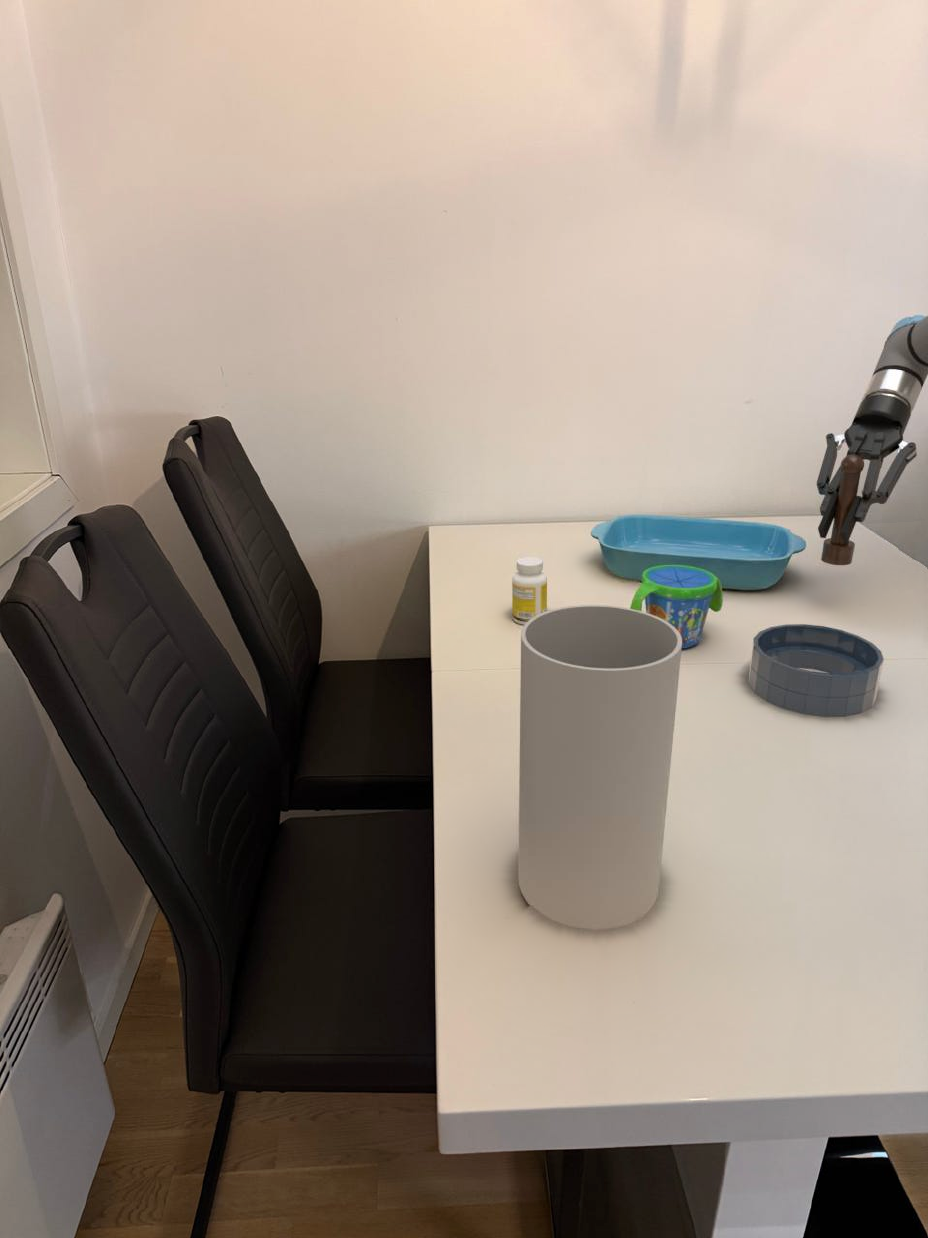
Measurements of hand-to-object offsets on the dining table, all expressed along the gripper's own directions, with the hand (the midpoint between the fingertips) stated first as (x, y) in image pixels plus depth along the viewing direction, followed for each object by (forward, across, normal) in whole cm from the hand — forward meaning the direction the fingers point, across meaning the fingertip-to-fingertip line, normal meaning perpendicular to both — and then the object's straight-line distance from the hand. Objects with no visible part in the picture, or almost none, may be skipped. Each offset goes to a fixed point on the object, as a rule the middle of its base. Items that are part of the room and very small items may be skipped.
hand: (832, 535), depth 126 cm
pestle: (+1, 0, -6) cm, 6 cm away
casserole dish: (+4, +25, -15) cm, 30 cm away
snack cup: (+25, +14, +6) cm, 29 cm away
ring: (+28, -8, +9) cm, 30 cm away
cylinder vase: (+62, -5, +43) cm, 76 cm away
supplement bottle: (+30, +35, +10) cm, 47 cm away
